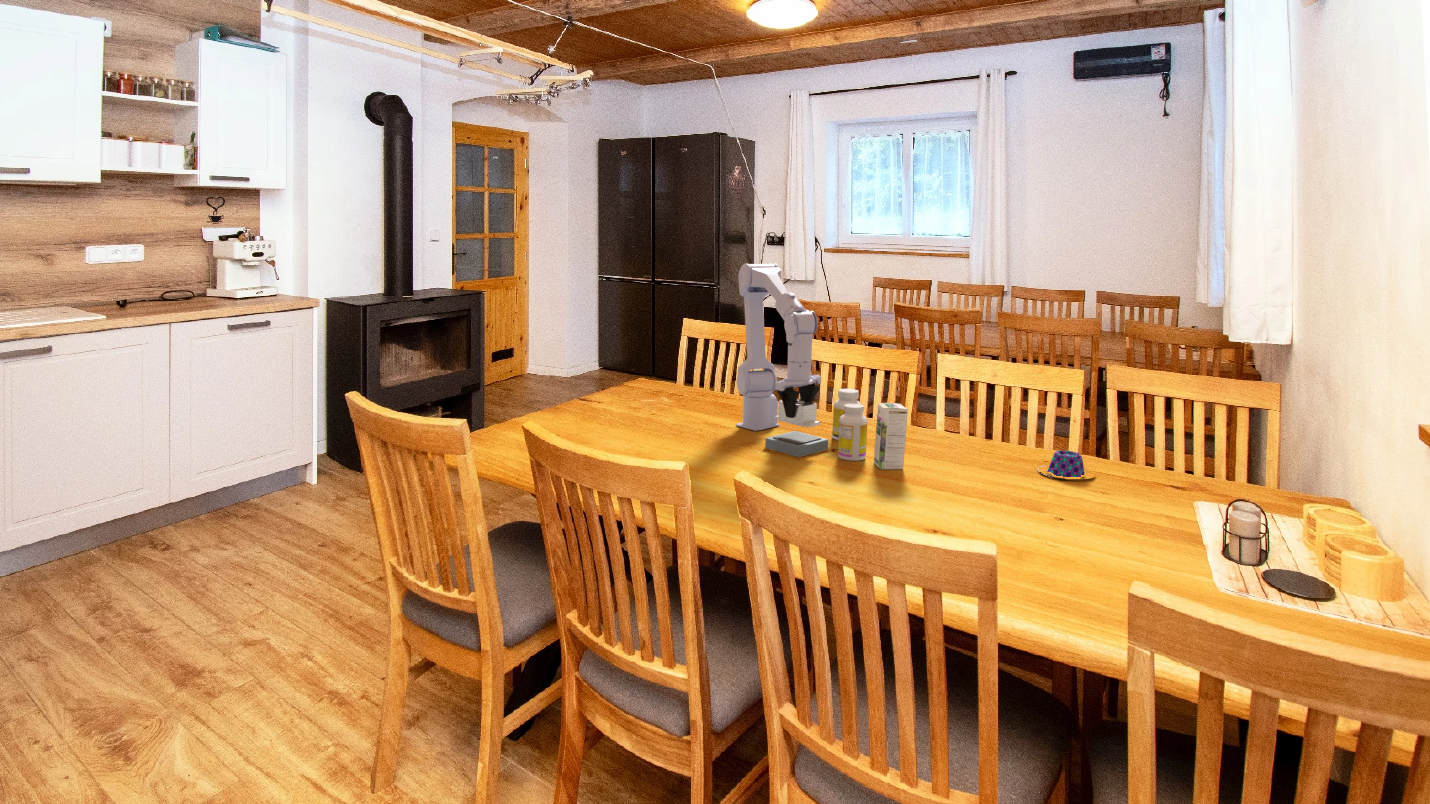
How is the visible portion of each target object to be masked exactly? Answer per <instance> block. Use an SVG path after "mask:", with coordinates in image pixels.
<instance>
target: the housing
mask: <svg viewBox="0 0 1430 804" xmlns="http://www.w3.org/2000/svg"><path fill="white" fill-rule="evenodd" d="M817 407H818V403H816V402H813V403H812V402H807V401H804V400H802V399H800V398H797V401H796V406H795V415H794V418H789V417H786V414H785V409H784V405H783V402H782V400H781V399H780V400H779V401H778V414H777V416H775V419H776V420H777V422H782V423H787V424H791V425H794V426H798V427H799V426H800V427H806V428H813V427H817V426H820V425H821V421H819V420H817V415H818V414H817V412H818V411H817V410H818V408H817Z"/></svg>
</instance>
